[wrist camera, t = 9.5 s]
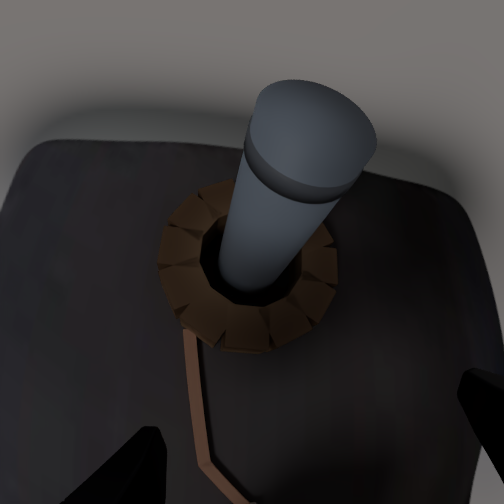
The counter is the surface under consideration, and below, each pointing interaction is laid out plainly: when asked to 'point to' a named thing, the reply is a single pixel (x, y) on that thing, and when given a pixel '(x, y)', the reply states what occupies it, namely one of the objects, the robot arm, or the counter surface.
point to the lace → (199, 422)
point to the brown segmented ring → (220, 308)
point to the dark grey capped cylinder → (289, 179)
